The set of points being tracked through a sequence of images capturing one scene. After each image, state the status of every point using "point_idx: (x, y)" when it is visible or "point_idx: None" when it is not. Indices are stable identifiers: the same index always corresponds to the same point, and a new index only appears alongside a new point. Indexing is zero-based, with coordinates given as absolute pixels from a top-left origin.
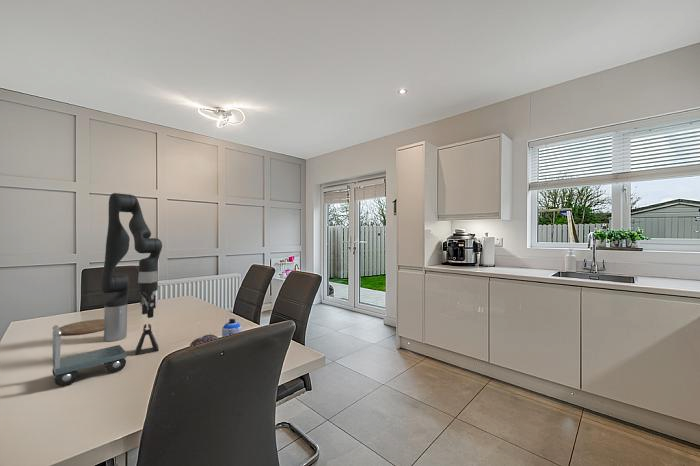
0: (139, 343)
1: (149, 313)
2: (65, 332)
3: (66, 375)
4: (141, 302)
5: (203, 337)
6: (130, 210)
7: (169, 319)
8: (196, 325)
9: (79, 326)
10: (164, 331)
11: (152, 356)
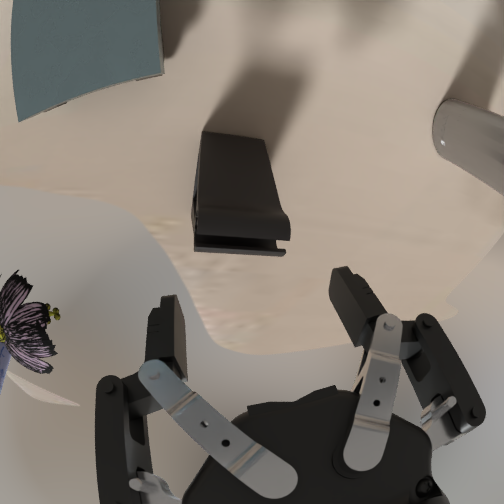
0: (199, 162)
1: (147, 335)
2: None
3: None
4: (379, 358)
5: (16, 355)
6: None
7: (460, 273)
8: None
9: None
10: (397, 255)
11: (142, 190)
